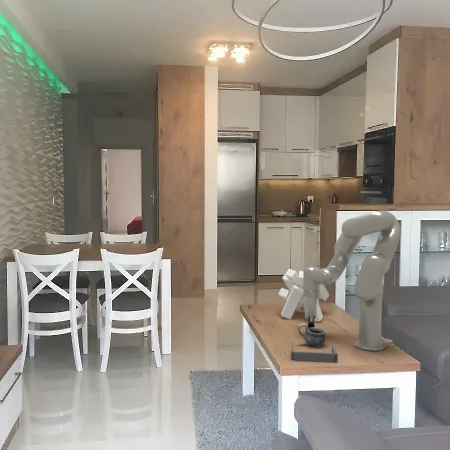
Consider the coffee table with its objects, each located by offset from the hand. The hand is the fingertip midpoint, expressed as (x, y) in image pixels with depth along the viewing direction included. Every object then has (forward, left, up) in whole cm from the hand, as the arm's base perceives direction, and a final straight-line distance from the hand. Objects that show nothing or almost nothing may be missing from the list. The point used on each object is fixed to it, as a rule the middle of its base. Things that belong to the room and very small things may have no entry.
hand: (310, 332), depth 228 cm
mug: (0, +13, -3) cm, 13 cm away
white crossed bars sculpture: (+2, -42, -3) cm, 42 cm away
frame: (0, +27, -3) cm, 27 cm away
